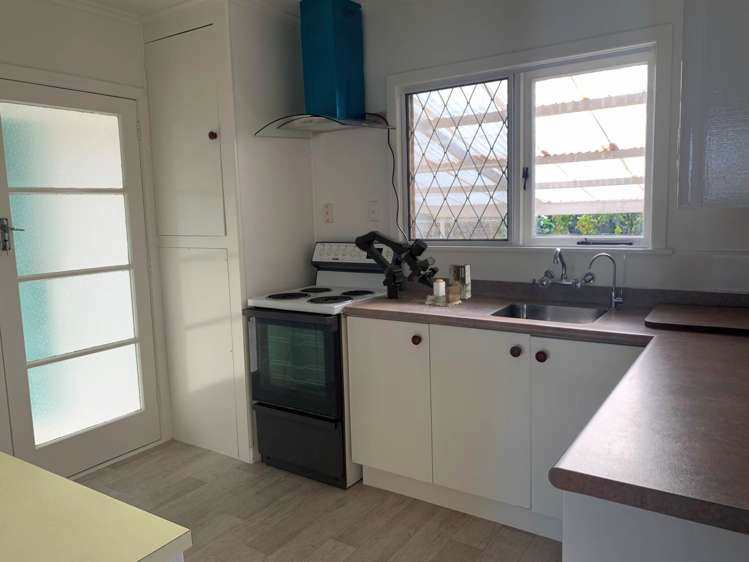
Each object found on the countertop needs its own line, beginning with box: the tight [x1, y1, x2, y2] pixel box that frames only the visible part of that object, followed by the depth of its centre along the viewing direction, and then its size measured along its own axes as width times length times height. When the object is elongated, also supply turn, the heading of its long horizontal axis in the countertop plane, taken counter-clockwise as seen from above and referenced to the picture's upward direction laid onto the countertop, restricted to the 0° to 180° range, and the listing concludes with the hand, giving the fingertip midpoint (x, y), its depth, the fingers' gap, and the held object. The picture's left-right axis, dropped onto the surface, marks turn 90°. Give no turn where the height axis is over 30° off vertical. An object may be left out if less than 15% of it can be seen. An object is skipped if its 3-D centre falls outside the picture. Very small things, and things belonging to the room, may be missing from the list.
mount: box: [424, 286, 462, 307], centre depth 268 cm, size 12×11×8 cm
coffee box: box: [448, 263, 472, 300], centre depth 283 cm, size 9×6×16 cm
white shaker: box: [431, 278, 446, 297], centre depth 270 cm, size 4×5×9 cm
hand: (433, 287), depth 272 cm, fingers closed
